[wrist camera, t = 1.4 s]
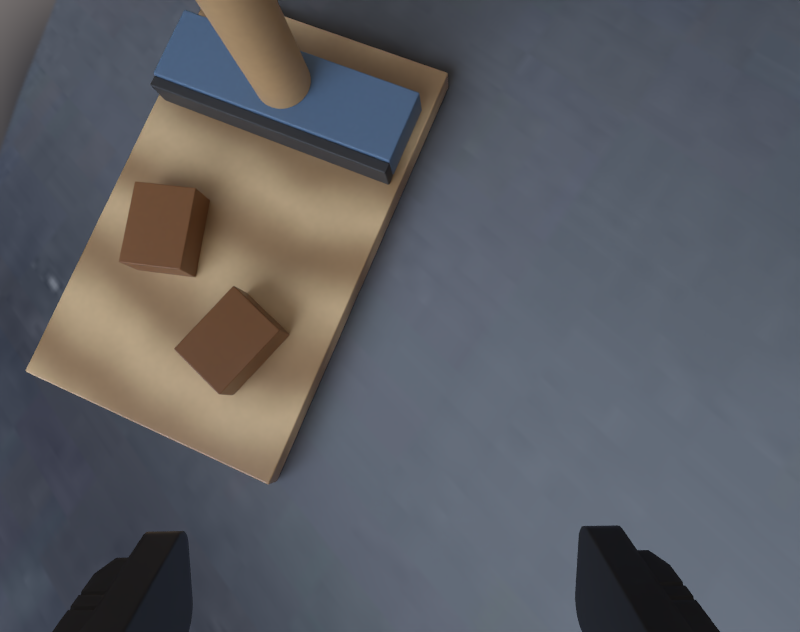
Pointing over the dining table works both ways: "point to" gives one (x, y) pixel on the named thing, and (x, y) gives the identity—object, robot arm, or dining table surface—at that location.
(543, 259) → the dining table surface
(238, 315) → the block
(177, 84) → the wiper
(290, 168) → the cutting board
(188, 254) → the block
